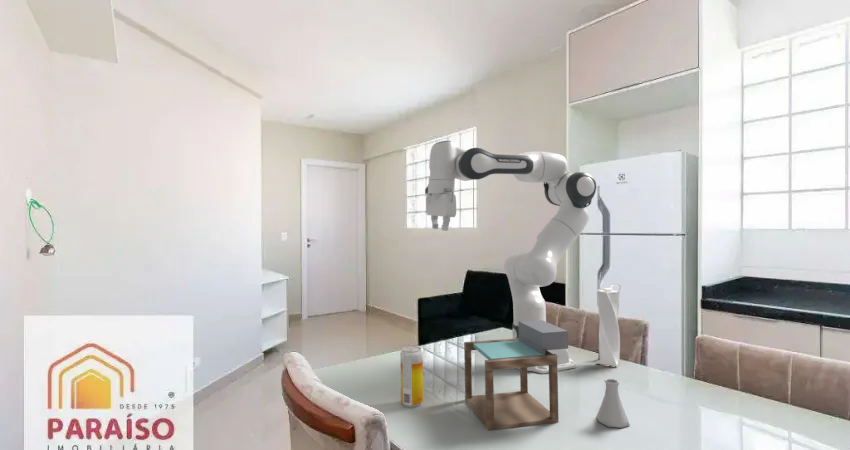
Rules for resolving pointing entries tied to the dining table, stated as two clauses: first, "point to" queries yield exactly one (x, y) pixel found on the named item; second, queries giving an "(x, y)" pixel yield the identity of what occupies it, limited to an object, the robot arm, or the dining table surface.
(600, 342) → the skyscraper
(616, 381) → the flask
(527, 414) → the stand
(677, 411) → the dining table surface
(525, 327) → the trapdoor
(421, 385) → the beer can
